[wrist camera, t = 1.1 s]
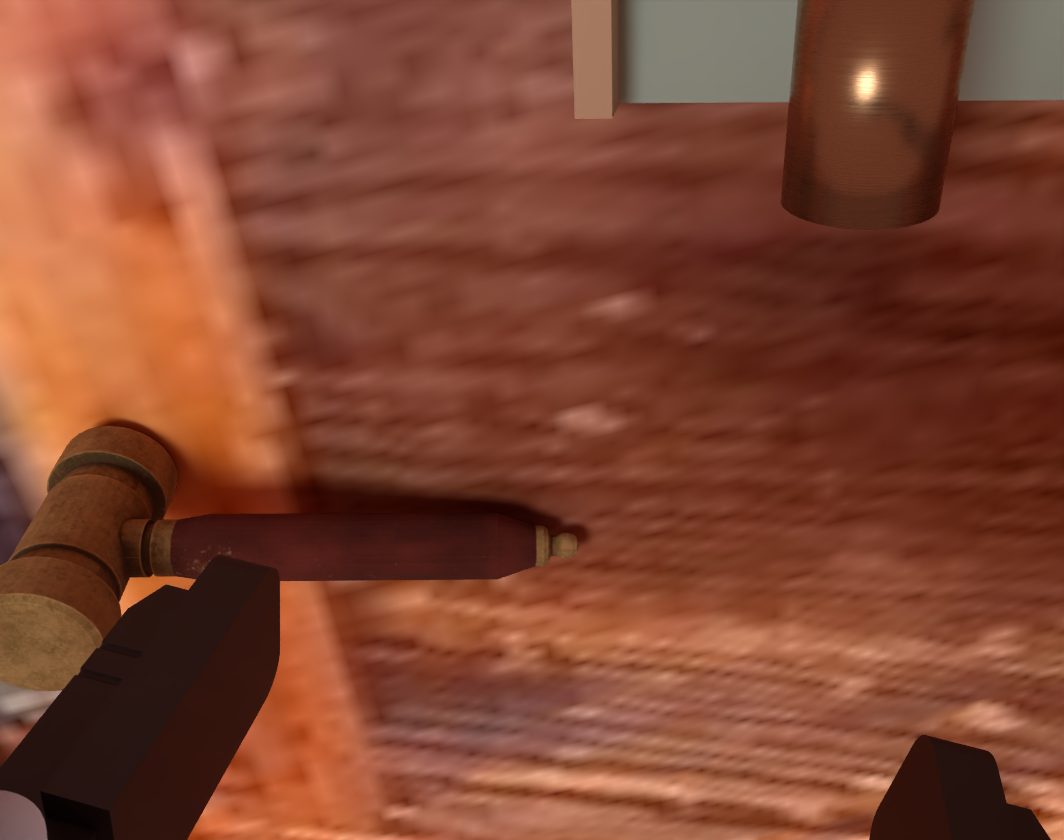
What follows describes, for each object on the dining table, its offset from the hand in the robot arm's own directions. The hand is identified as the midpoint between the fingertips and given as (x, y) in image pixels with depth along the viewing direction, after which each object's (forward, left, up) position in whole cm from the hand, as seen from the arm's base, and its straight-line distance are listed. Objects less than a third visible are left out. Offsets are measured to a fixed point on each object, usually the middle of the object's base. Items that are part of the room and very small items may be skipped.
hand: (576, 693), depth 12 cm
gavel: (+15, +13, -23) cm, 31 cm away
